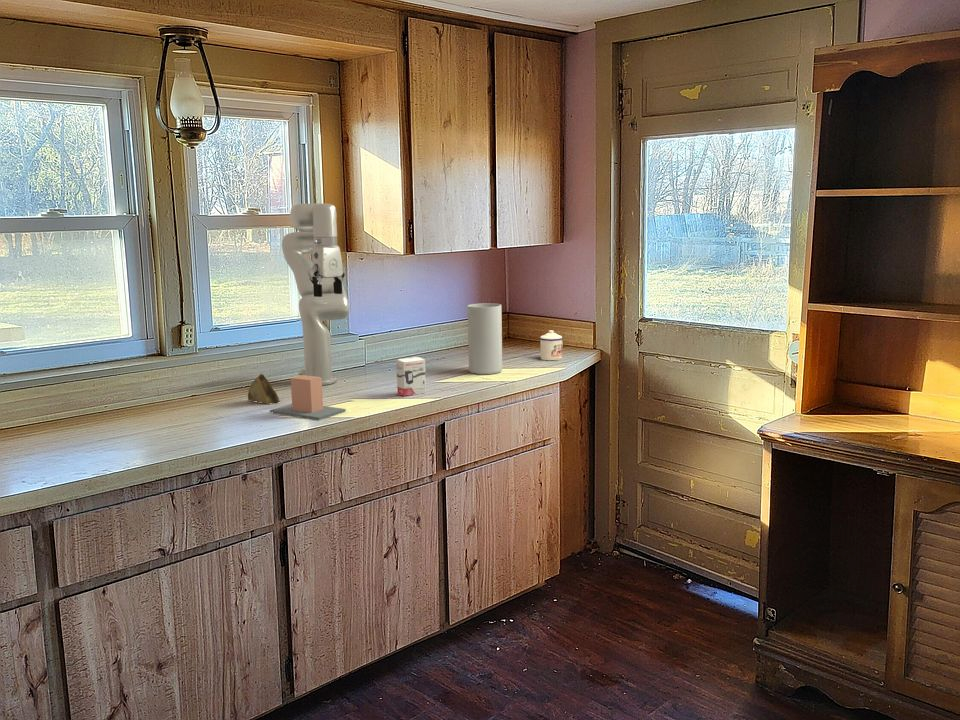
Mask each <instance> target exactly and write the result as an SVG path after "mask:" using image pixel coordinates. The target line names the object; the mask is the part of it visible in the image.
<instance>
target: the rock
mask: <svg viewBox="0 0 960 720" xmlns="http://www.w3.org/2000/svg"><path fill="white" fill-rule="evenodd" d="M247 400H248V401H249V400H250V402H253V401H257V402H256V403H258V402H262V403H261V404H265V403H267V405H271V404H270V403H275V404H279V403H278V402H281V400H280V397H279V396H278V393H277V392H276V390H274V388H273V386H272V384H271V382H270V381H269V380H268V379H267V378H266V376H265V375H264V374H263V373H260V374H259V375H258V376H257V377H256V378H255V379H254V380H253V382H252V383H251V384H250V386H249V389H248V392H247Z"/></svg>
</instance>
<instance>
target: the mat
mask: <svg viewBox="0 0 960 720" xmlns="http://www.w3.org/2000/svg"><path fill="white" fill-rule="evenodd" d="M345 411H346V412H347V408H343V407H342V408H341V407H340V408H339V407H335V406H327V405H323V409H322V410H319V411H316V412H312V413H311V412H304V411H297V410H292V403H291V404H286V405H283V406H279V407H276V408H272V409H269V413H270V412H273V413H272V414H276V413H278V414H277V415H282V414H284V415H283V416H289V415H290V417H296V418H301V419H302V418H304V419H309V420H316V421H320V420H323V419H327V418H330V417H334V416H336V414H337V415H339V413H340V414H343V413H345ZM342 412H343V413H342Z"/></svg>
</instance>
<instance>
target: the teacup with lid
mask: <svg viewBox="0 0 960 720" xmlns="http://www.w3.org/2000/svg"><path fill="white" fill-rule="evenodd" d="M539 341H540V342H539V343H540V348H539V349H540V360H542V361H546V360H557V361H560V359H561V360H562V359H563V344H564V343H563V336H562V335H560V334H558V333H557V332H555V331H554V330H551V329H550V330H548V332H547V333H545V334H543V335H541V336H540V337H539Z"/></svg>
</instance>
